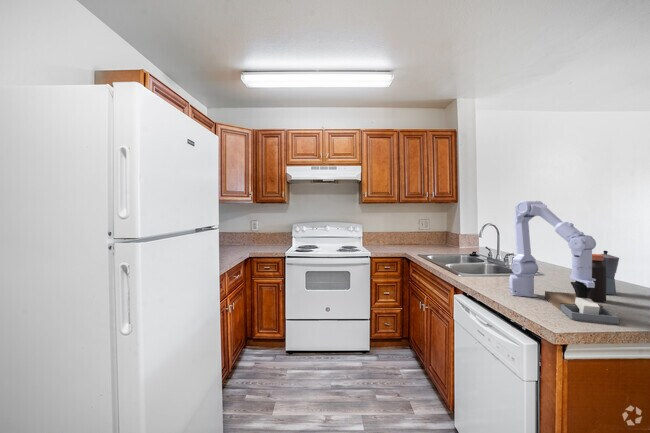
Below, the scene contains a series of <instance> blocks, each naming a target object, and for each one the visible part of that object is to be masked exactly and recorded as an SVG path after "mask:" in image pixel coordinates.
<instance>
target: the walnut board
mask: <svg viewBox="0 0 650 433" xmlns="http://www.w3.org/2000/svg"><path fill="white" fill-rule="evenodd" d="M576 298H577V297H576V294H575V292H574V293H573V292H572V293H571V292H561V291H559V292H558V291H550V290H549V291H546V290H545V291H544V299H546V300H547V301H548V302H549V303H550V304H552V305H553V306H554V307H556V308H557V309H558V310H560V311H561V304H564V305H575V306H577V305H576V304H575V299H576ZM588 299H589V298H588ZM593 302H594V301H593ZM594 303H597V302H594ZM597 304H598V305H599V307H600V308H604V306H603V305H601V304H600V303H597Z"/></svg>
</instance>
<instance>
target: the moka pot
mask: <svg viewBox="0 0 650 433" xmlns="http://www.w3.org/2000/svg"><path fill="white" fill-rule="evenodd" d="M608 253H609V251H608V250H603V253H600V255H604V260H603V264H604V265H605V266H606V267H607V279H606V295H611V296H612V295H613V296H614V295H617V289H616V280H615V277H616V274H617V270H618V266H619V262H620V261H619V260H620V257H618V256H616V255H615V256H614V255H611V254H608Z"/></svg>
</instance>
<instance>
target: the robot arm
mask: <svg viewBox="0 0 650 433" xmlns="http://www.w3.org/2000/svg"><path fill="white" fill-rule="evenodd" d="M514 208H515V209H514V210H515V213H514V216H513V222H514V234H515V236H514V237H515V247H516V254H515V256H514V257H513V258H512V264H511V266H510V268H511V271H512V273H513V274H510V275H509V278H508V279H509V284H508V285H509V288H508V289H509V290H508V291H509V292H510V294H511V295H512V296H518V297H530V298H531V297H532V298H538V295H536V294H535V276H536V274H537V273H538V271H539V266H538V263H537V261H536V258H535V257H534V256H533V255H532V251H531V240H530V228H529V221H530V220H532V219H533V218H534V217H540V218H542V219H543V220H544V221H546V222H547V223H548V224H550V225H551V226H553V227H554V231H555V233H556V234H557V235H558V236H560V237H561V238H562V239H563V240H565V241H566V242H567V245H568V248H569V249H570V252H571V273H570V274H569V276H570V277H569V279H571V280H573V281H571V282H570V284H571V286H572V288H573V291H574V293H575V294H576V297H577V298H587V297H588V294H589V292H590V291H591V289H592V288H595V283H594V282H593V281H596V279H594V278H592V254H593V250H594V249H595V248H596V247H597V241H596V240H595V238H594V237H593V236H592V235H588V234H585V233H584V232H583V231H580V230H579V229H578V228H576V227H575V225H574V223H572V222H568V221H562V219H560V218H559V217H558V216H557V215H556V214H555V213H554V212H553V211H551V209H549V208H548V206H547V204H545V203H543V201H541V200H520V201H519V202H518V203H517V204H516V205H515V206H514Z"/></svg>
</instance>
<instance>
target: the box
mask: <svg viewBox="0 0 650 433" xmlns="http://www.w3.org/2000/svg"><path fill="white" fill-rule="evenodd" d="M579 310H580V309H579V308H578V307H577V306H575V305H564V304H561V310H560V312H562V313H563V314H564V315H565V316H566V317H568V318H569V319H570V320H571V321H572V320H573V321H580V322H590V323H591V322H592V323H598V324H599V323H600V324H609V325H618V326H619V324H620V317H619V316H617V315H616V314H615V313H613V312H611V311H609V310H607V309H606V308H604V307H603V308H600V309H599V315H596V314H586V313H580V312H579Z"/></svg>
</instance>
